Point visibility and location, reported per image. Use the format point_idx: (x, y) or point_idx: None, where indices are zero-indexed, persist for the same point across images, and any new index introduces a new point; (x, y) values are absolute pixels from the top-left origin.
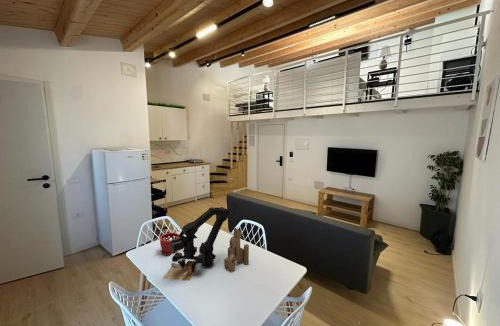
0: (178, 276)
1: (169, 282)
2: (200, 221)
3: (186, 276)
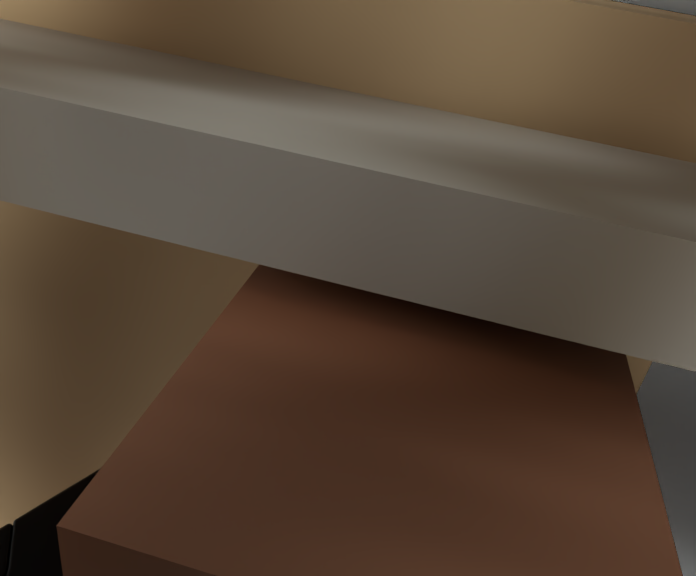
0: None
1: None
2: None
3: None
